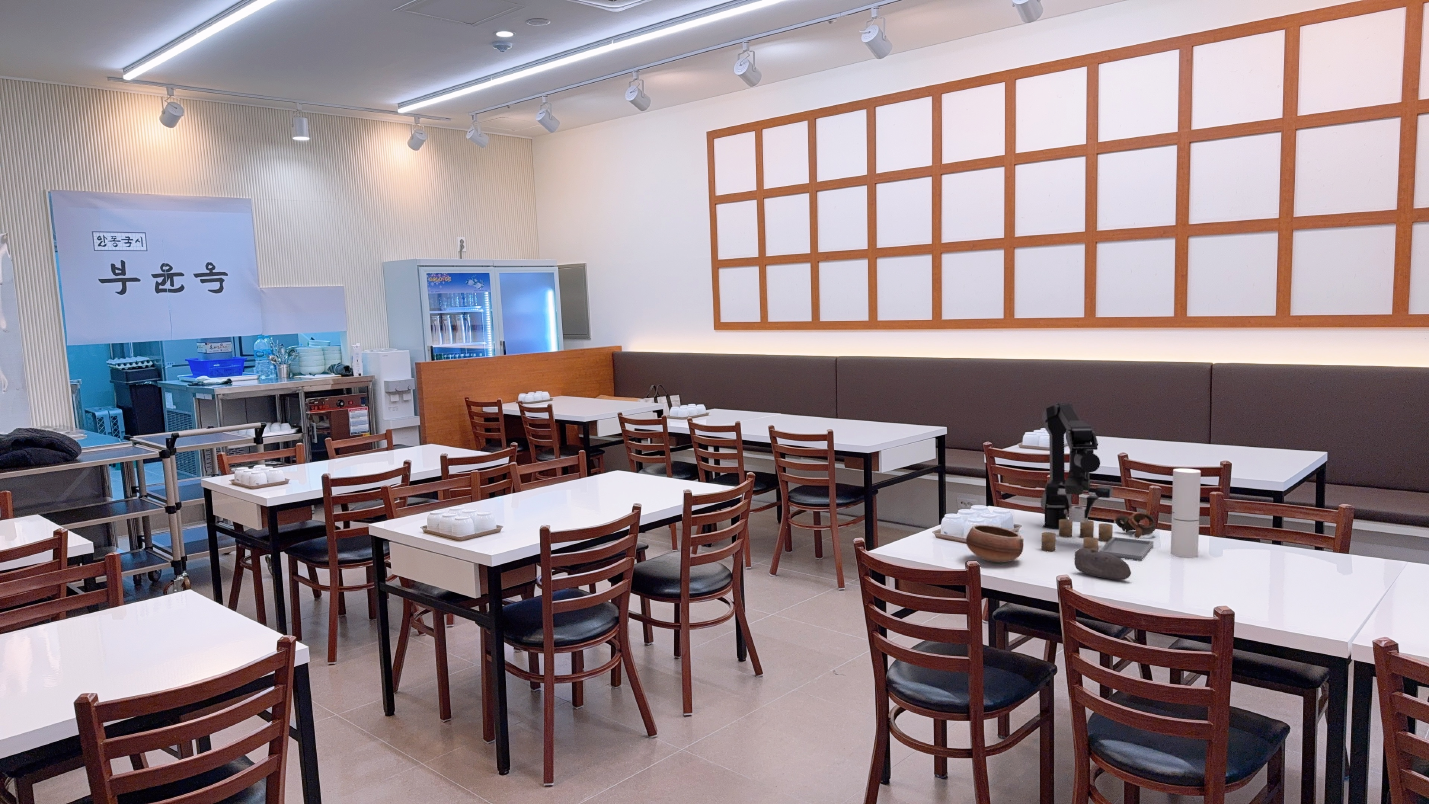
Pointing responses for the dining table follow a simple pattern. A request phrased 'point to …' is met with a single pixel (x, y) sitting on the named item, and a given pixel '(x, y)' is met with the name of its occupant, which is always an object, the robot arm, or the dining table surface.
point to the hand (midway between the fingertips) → (1078, 517)
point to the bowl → (994, 543)
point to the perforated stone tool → (1101, 564)
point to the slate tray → (1127, 548)
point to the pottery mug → (1136, 523)
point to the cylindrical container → (1185, 512)
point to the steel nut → (1077, 514)
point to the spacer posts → (1085, 533)
